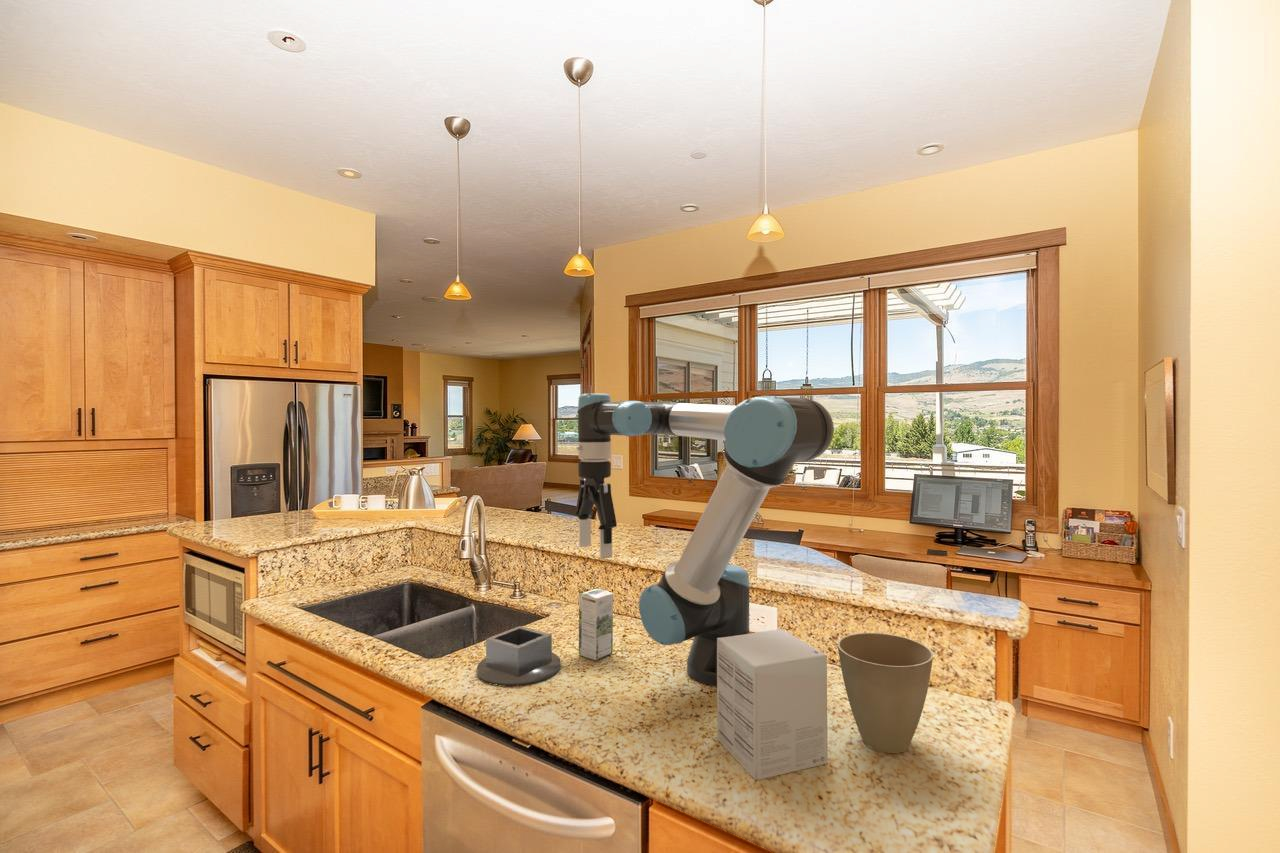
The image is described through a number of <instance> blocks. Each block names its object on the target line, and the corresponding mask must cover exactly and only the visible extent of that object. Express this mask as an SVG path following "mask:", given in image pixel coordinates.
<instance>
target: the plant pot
mask: <svg viewBox="0 0 1280 853" xmlns="http://www.w3.org/2000/svg"><path fill="white" fill-rule="evenodd" d="M837 650H838V658H839V664H840V668H841V674H842V679H843V683H844V684H843V685H844V688H845V692H846V696H847V699H848V702H849V706H850V709H851V712H852V715H853V716H852V717H853V719H854V721H855V725H856V727H857V730H858V732H859V735H860V737H861V740H862V742H863V743H864V744H865V745H866V746H868V747H869V748H871V749H873V750H875V751H878V752H881V753H885V754H887V753H888V754H900V753H903V752H906V751H907V750H908V749H909V747H910V745H911V744H912V740H913V738H914V735H915V734H916V731H917V728H918V725H919V722H920V719H921V716H922V714H923V710H924V707H925V703H926V700H927V699H926V698H927V694H928V689H929V686H930V679H931V673H932V667H933V659H934V653H933V651H932V649H930V648H929V647H927V646H926V645H925V644H923V643H921V642H919V641H916V640H915V639H911V638H909V637H905V636H902V635H897V634H891V633H883V632H858V633H851V634H848V635H845V636H843V637H841V638H840V639H838V641H837Z"/></svg>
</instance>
